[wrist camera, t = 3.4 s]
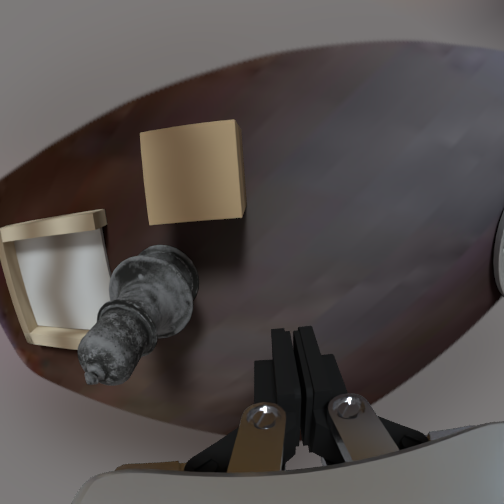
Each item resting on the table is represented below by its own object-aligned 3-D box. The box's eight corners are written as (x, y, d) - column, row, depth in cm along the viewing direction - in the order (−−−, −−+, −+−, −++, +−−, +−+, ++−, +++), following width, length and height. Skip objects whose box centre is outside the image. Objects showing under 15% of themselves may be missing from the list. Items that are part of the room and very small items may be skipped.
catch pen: (104, 208, 20) (92, 213, 19) (133, 342, 24) (126, 354, 22) (6, 225, 21) (-6, 230, 19) (37, 334, 24) (27, 343, 22)
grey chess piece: (186, 326, 23) (136, 445, 11) (120, 292, 22) (34, 387, 11) (215, 263, 21) (170, 372, 10) (142, 227, 21) (37, 296, 9)
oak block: (241, 129, 19) (234, 119, 14) (246, 204, 20) (242, 217, 15) (167, 138, 19) (140, 132, 14) (174, 210, 20) (149, 225, 16)
